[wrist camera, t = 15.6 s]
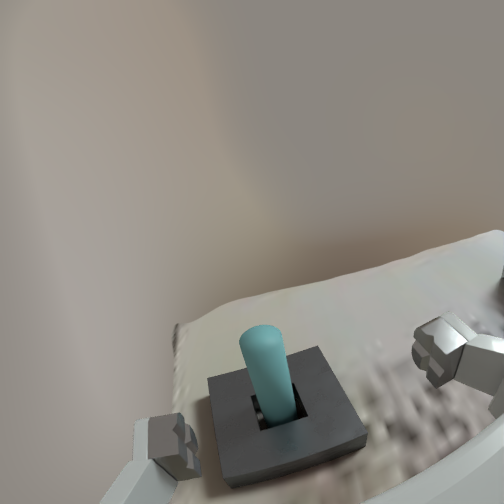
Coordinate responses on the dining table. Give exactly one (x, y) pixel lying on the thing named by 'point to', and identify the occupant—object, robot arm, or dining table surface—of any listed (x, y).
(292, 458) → the socket block
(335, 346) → the dining table surface
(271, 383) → the peg
